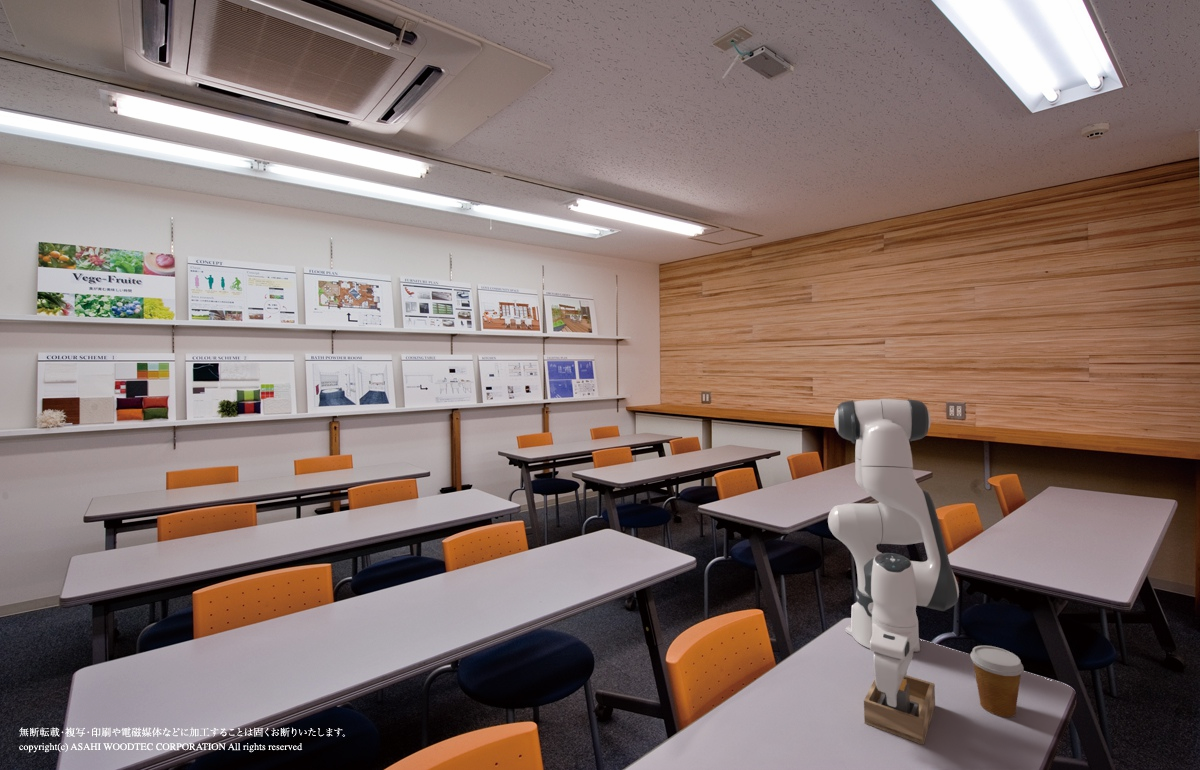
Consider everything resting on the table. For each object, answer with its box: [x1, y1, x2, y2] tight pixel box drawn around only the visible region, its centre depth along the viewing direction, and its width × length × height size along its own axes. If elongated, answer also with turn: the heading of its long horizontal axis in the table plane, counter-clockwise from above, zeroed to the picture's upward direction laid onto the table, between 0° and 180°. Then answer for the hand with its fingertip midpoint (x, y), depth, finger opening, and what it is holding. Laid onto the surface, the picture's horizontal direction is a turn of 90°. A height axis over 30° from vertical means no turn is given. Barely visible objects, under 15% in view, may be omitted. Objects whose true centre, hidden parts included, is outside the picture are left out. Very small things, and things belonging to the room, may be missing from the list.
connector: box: [885, 679, 910, 714], centre depth 113 cm, size 4×4×8 cm
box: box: [863, 674, 936, 746], centre depth 115 cm, size 16×11×5 cm
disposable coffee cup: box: [969, 645, 1024, 718], centre depth 116 cm, size 10×10×12 cm
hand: (896, 693), depth 113 cm, fingers open, 8 cm apart
